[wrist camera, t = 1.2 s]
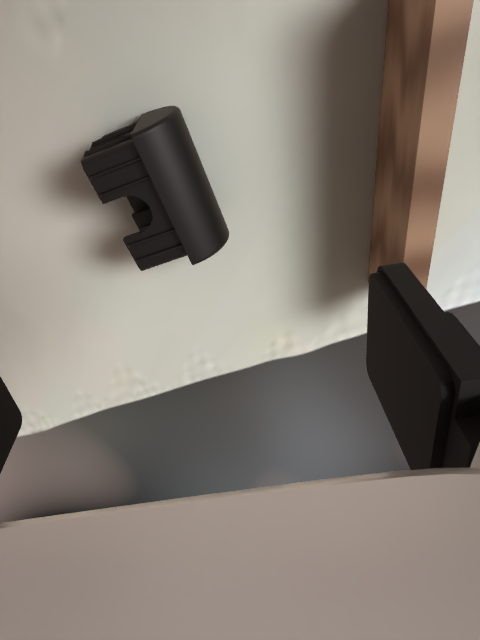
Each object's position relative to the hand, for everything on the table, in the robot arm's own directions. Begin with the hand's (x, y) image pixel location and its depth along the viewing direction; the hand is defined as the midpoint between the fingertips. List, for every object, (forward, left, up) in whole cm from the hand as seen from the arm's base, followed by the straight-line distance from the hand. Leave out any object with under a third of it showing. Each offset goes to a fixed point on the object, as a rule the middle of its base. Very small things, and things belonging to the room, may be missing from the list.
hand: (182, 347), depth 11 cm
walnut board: (+5, +14, -28) cm, 32 cm away
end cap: (+5, -4, -29) cm, 29 cm away
